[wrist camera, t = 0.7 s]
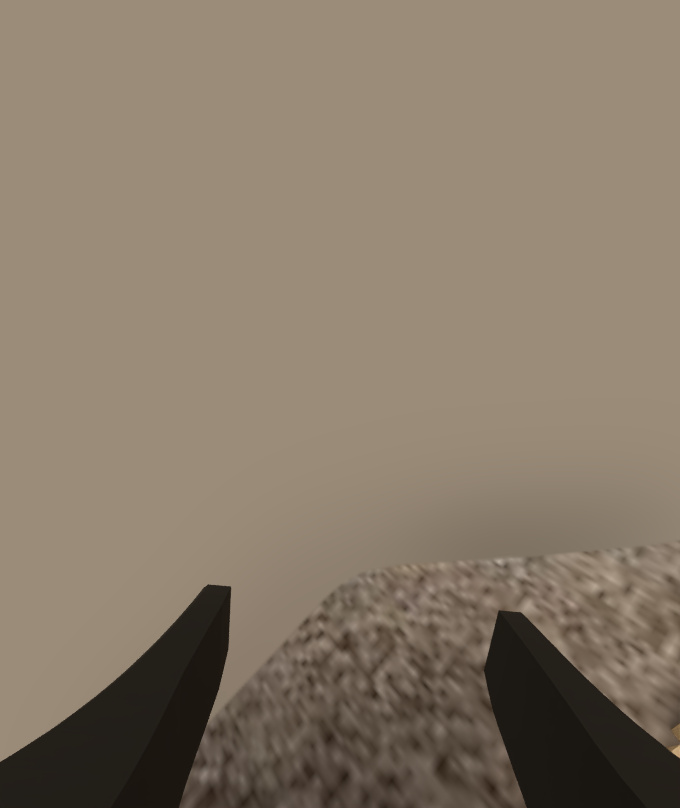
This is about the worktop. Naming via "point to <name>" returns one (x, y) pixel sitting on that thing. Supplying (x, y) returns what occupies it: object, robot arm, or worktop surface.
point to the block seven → (676, 731)
